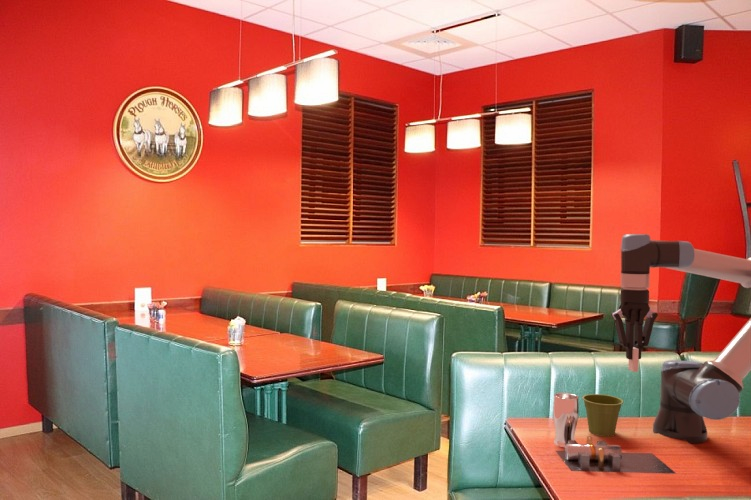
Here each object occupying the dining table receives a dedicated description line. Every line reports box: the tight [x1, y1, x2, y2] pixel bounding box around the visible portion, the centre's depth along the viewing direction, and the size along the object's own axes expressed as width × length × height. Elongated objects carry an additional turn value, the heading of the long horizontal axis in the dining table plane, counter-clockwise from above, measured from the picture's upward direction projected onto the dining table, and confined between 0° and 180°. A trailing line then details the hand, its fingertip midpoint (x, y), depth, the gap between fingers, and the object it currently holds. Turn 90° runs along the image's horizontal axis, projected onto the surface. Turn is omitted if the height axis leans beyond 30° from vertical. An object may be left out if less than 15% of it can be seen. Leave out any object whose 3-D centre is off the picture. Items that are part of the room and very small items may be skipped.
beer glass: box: [552, 392, 580, 448], centre depth 177 cm, size 7×7×15 cm
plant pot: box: [581, 393, 624, 437], centre depth 189 cm, size 12×12×11 cm
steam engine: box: [555, 435, 677, 475], centre depth 165 cm, size 27×14×6 cm, turn 90°
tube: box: [564, 443, 623, 461], centre depth 166 cm, size 14×4×4 cm, turn 90°
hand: (633, 370), depth 176 cm, fingers closed
